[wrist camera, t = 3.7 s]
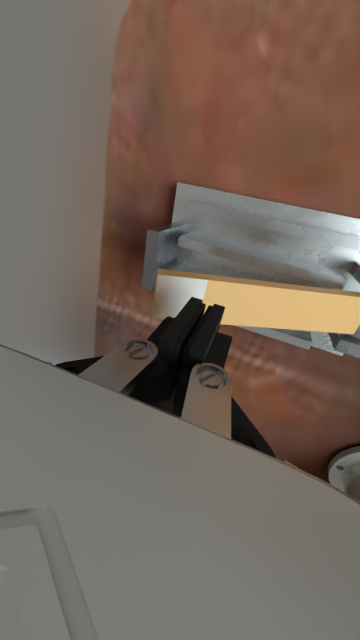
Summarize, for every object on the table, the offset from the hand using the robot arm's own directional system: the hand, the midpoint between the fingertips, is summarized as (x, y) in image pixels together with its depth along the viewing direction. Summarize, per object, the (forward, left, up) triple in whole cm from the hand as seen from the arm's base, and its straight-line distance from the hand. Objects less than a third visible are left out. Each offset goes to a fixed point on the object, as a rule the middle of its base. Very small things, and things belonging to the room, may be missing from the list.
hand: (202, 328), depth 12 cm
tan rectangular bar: (-3, 0, -7) cm, 8 cm away
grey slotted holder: (-2, 0, -16) cm, 16 cm away
